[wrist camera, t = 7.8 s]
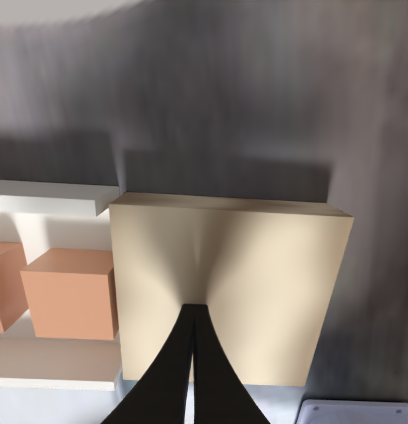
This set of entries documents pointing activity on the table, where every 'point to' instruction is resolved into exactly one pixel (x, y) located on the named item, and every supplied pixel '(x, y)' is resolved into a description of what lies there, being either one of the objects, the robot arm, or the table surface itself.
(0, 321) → the tile
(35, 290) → the tile
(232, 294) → the board
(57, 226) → the tray
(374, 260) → the table surface
